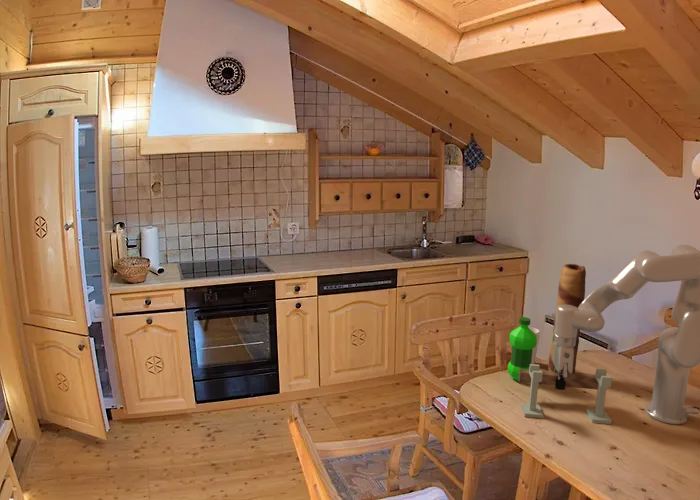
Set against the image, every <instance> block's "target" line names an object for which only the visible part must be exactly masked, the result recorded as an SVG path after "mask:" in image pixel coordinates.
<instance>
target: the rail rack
mask: <svg viewBox="0 0 700 500" xmlns="http://www.w3.org/2000/svg"><path fill="white" fill-rule="evenodd" d="M542 371H543V370H540V364H536V363H535V364H530V368H529V374H530V376H531V384H530V387H529V388H530V389H529V399H528V400H529V401H528V403H523V402H521V404H520V407H521V410H522V412H523V413H522V414H523V416H524V417H527V418H536V419H543V418H544V414H543V411H542V409H541V407H540V404H537V400H538V392H539V384H538V383H539V382H542V375H543V372H542ZM607 372H608V371H607V370H606V369H605V368H604V369H603V368H596V370H595V375H596V376H595V378H596V380H597V381H598V390H597V392H596V398H595V399H596V400H595V408H586V409H585V410H586V411H585V412H586V414H587V416H588V418H589V420H590V422H591V423H593V424H595V423H596V424H604V425H605V424H606V425H612V420H611V418H610V417H609V415H608V413H607V411H606V410H605V402H606V393H607V388H611V387H612V381H613V378H612V376H610V375H609V376H608V375H607Z"/></svg>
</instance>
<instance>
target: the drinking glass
mask: <svg viewBox="0 0 700 500" xmlns="http://www.w3.org/2000/svg"><path fill="white" fill-rule="evenodd" d="M528 328H530V329H531V330H532V331H533V332H534V333H535V334H536V337H537V344H536V347H534V348H533V350H532V360H531V364H536V356H537V352H538V347H539V341H540V330H539V329H537V328H536V327H530V326H528Z"/></svg>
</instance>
